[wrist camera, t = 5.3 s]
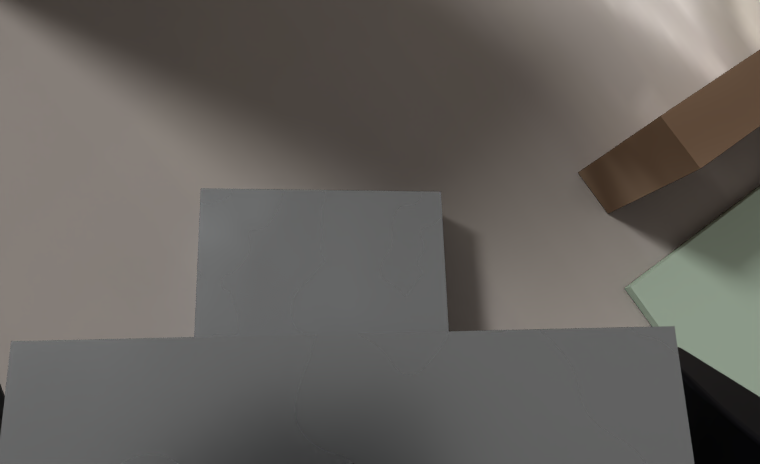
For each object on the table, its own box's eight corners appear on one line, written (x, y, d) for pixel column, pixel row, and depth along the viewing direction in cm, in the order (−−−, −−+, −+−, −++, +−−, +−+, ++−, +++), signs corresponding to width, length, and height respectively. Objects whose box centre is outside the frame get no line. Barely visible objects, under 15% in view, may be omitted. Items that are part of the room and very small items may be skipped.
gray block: (441, 470, 14) (726, 678, 5) (199, 484, 14) (-38, 772, 4) (427, 207, 16) (623, -30, 6) (210, 205, 15) (58, -72, 6)
